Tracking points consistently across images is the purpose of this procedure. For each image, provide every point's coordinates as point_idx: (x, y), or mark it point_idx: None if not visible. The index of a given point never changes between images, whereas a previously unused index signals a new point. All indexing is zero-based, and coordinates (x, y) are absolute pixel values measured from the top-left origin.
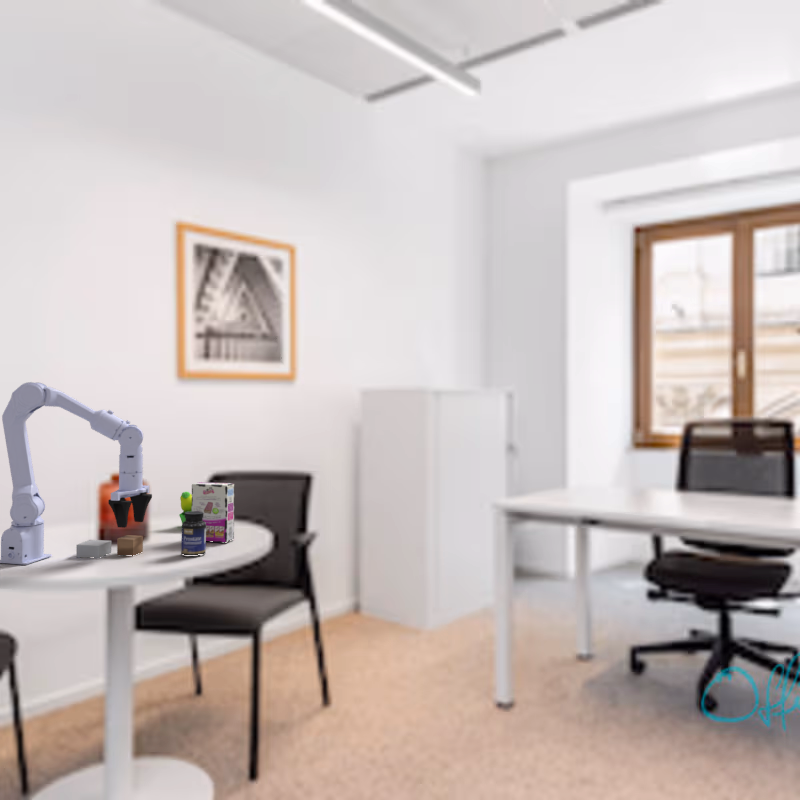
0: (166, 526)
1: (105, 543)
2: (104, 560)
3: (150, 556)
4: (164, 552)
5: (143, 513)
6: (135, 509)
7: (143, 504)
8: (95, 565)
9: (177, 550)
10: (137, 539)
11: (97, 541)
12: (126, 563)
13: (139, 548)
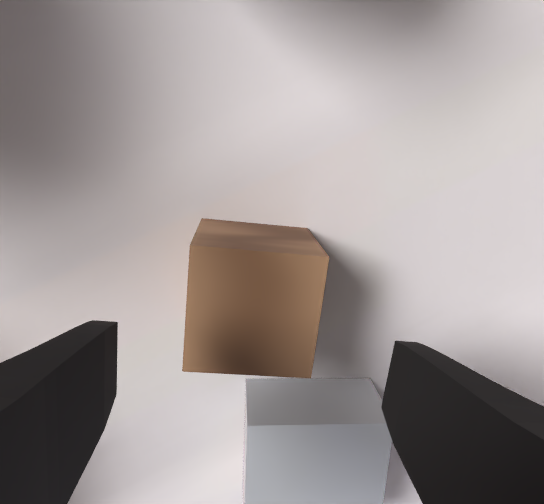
0: None
1: (319, 422)
2: (406, 332)
3: (287, 125)
4: (163, 80)
5: (78, 352)
6: (52, 500)
7: (2, 449)
8: (509, 321)
9: (81, 8)
10: (269, 248)
11: (280, 486)
12: (467, 188)
13: (239, 229)
